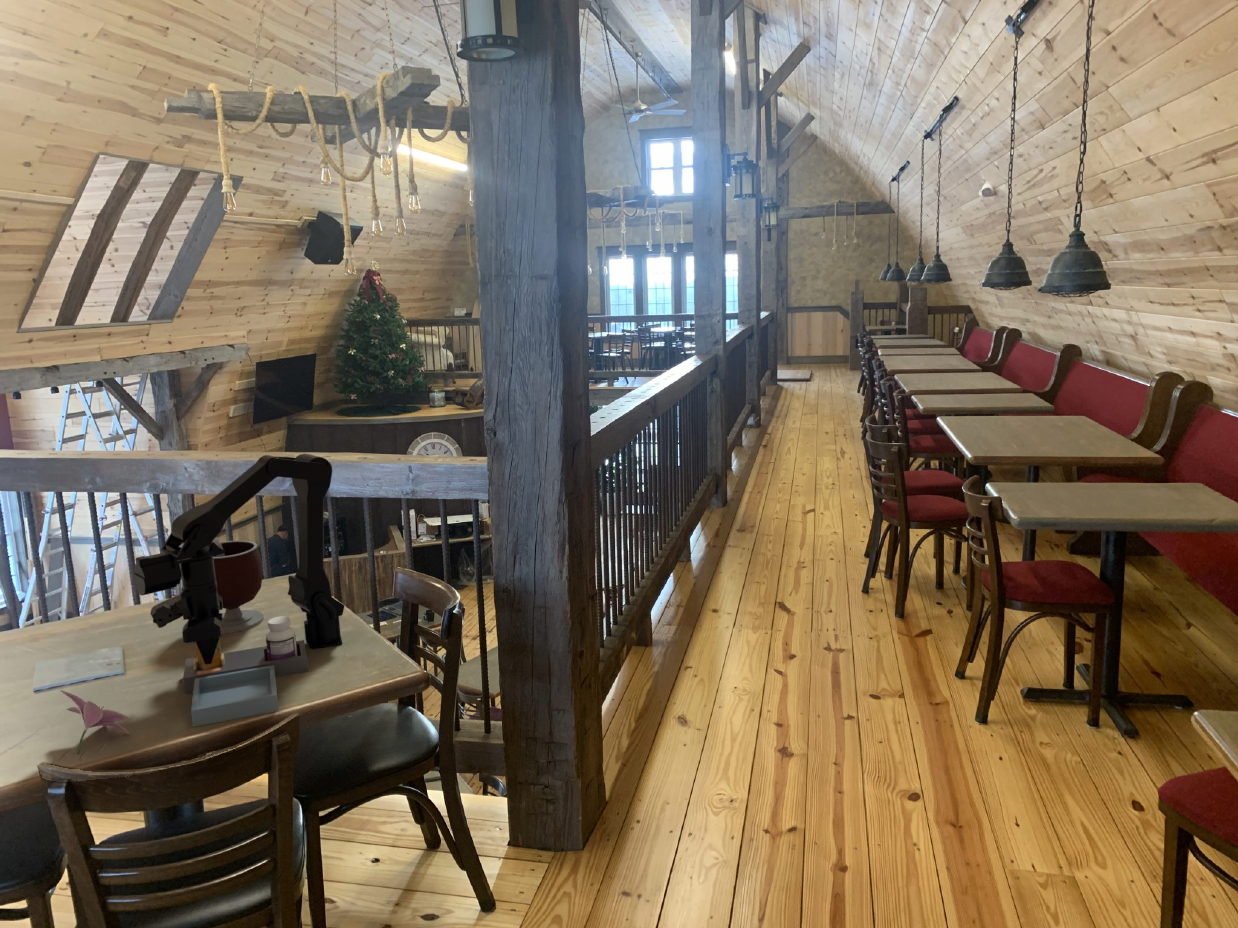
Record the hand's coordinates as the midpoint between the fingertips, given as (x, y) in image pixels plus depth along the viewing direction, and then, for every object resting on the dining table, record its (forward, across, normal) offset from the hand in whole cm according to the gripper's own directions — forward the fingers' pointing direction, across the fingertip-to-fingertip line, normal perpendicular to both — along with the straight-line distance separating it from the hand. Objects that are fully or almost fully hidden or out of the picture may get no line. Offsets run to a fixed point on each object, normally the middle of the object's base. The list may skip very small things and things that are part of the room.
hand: (208, 659), depth 168 cm
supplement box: (+4, 0, 0) cm, 4 cm away
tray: (+4, +12, +4) cm, 14 cm away
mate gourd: (+4, -31, +4) cm, 31 cm away
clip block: (+4, 0, +6) cm, 8 cm away
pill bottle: (+4, 0, +13) cm, 14 cm away
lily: (+4, +18, -16) cm, 25 cm away
